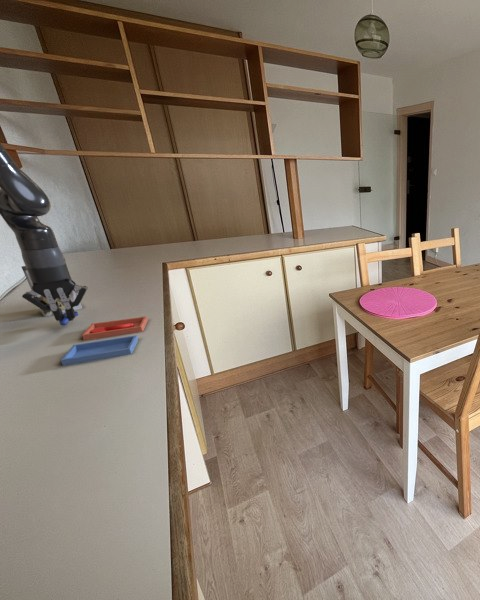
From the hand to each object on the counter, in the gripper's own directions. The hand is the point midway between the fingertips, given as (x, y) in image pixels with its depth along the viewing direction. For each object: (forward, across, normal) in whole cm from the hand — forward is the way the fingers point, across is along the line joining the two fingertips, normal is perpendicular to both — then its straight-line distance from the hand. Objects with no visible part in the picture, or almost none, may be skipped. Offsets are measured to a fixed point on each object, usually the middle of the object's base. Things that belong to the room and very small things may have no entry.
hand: (67, 320), depth 92 cm
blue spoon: (0, 0, +1) cm, 1 cm away
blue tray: (+3, +10, -22) cm, 25 cm away
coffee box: (+3, -5, +19) cm, 20 cm away
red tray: (+3, +12, -8) cm, 15 cm away
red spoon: (+2, +11, -8) cm, 14 cm away
